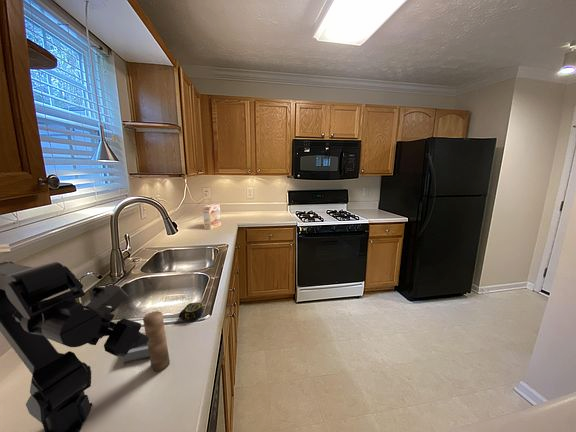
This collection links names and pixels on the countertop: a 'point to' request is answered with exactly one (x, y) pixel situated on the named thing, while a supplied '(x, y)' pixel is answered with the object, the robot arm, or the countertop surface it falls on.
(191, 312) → the tape measure
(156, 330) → the peg
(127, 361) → the pocket block
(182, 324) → the countertop surface
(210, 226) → the coffeecake box
